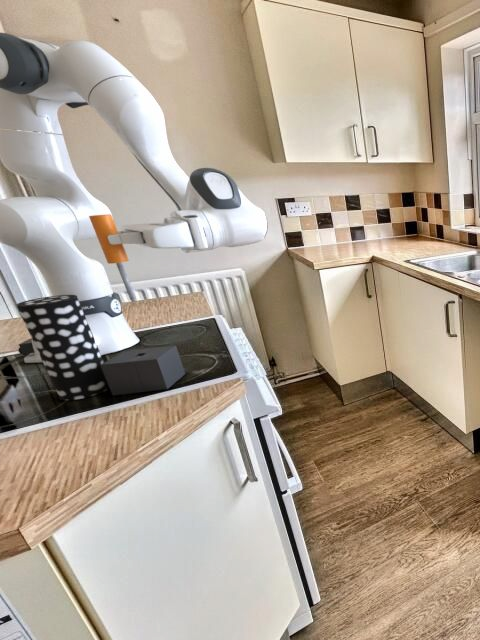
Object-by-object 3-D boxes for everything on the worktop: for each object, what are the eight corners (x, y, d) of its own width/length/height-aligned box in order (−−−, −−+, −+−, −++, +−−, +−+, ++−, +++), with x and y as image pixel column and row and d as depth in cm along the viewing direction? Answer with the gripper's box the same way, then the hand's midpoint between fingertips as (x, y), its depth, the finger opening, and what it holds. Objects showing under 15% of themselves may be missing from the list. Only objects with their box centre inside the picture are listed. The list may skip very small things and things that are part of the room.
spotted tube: (52, 404, 84) (6, 308, 77) (69, 387, 91) (28, 298, 84) (105, 394, 88) (66, 301, 81) (118, 379, 95) (83, 292, 88)
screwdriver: (120, 303, 85) (84, 216, 79) (129, 299, 88) (95, 215, 82) (138, 302, 86) (104, 215, 79) (147, 298, 89) (114, 214, 82)
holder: (112, 395, 87) (99, 364, 85) (135, 379, 94) (124, 350, 92) (167, 389, 89) (156, 359, 87) (185, 373, 97) (176, 345, 94)
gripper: (168, 215, 97) (87, 220, 87) (200, 217, 85) (111, 224, 75) (177, 243, 99) (99, 251, 89) (209, 249, 87) (124, 259, 77)
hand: (105, 239), depth 82 cm, fingers closed on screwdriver, 3 cm apart
